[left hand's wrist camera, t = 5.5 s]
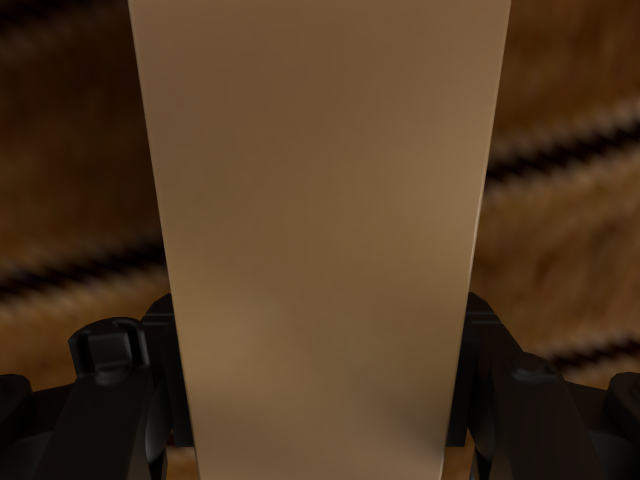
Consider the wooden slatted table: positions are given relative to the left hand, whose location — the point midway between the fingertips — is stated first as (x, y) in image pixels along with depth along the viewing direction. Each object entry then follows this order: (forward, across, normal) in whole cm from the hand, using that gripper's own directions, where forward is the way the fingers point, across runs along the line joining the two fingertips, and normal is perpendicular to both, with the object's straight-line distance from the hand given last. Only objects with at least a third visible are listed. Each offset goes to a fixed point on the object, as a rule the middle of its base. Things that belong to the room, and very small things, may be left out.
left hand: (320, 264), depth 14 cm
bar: (+1, 0, -22) cm, 22 cm away
